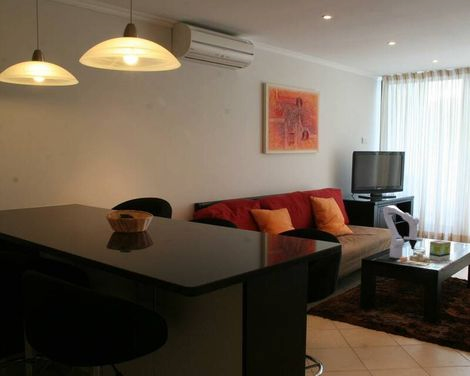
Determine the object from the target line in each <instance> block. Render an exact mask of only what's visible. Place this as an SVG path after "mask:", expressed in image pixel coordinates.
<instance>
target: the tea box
mask: <svg viewBox="0 0 470 376" xmlns="http://www.w3.org/2000/svg"><path fill="white" fill-rule="evenodd" d="M428 256H429V257H428V258H430V260H432V261H438V262H441V261H446V260H450V259H451V241H447V240H441V239H439V240H433V241H429V255H428Z"/></svg>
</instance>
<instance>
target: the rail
mask: <svg viewBox="0 0 470 376" xmlns="http://www.w3.org/2000/svg"><path fill="white" fill-rule="evenodd" d="M396 261H397V263H402V264H408V265H415V266H420V267H427V266H429V265H430V263H423V262H417V261H410V260H408V259H407V261H400V259H398V260H396Z"/></svg>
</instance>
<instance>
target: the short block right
mask: <svg viewBox="0 0 470 376" xmlns="http://www.w3.org/2000/svg"><path fill="white" fill-rule="evenodd" d="M423 263H429V264H430V263H431V259H430V258H429V257H427V256H423Z"/></svg>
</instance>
